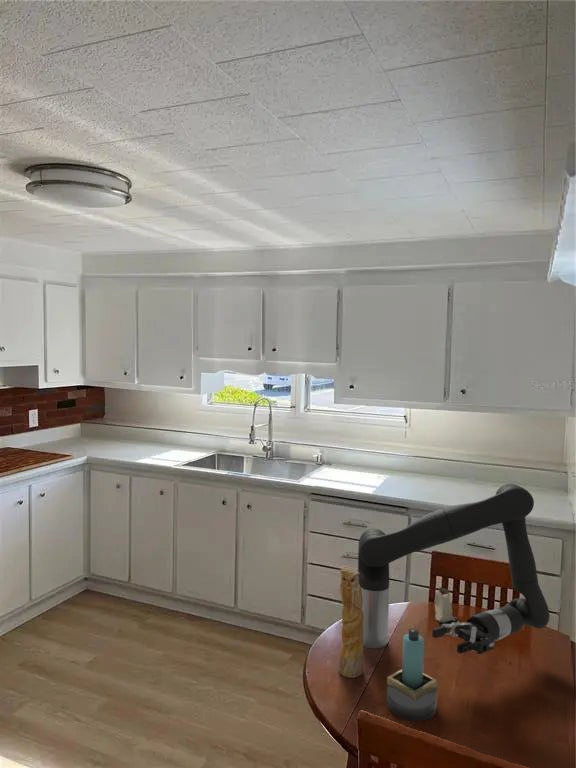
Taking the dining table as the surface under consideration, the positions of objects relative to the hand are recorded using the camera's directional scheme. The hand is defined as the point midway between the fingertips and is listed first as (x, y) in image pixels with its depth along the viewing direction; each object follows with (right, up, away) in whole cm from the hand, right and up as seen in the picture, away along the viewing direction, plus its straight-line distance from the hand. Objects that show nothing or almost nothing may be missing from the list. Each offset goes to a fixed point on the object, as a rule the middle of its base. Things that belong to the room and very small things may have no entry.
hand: (445, 641), depth 148 cm
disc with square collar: (-10, -14, -5) cm, 17 cm away
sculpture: (-23, -13, +8) cm, 28 cm away
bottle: (-10, -9, -5) cm, 14 cm away
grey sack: (+10, -11, +42) cm, 45 cm away
